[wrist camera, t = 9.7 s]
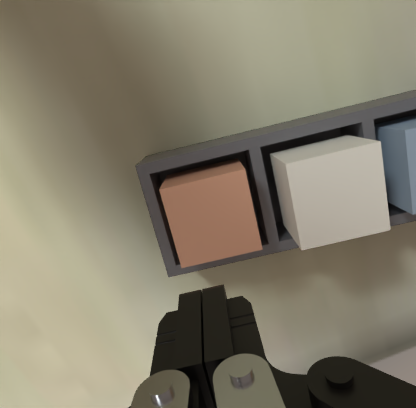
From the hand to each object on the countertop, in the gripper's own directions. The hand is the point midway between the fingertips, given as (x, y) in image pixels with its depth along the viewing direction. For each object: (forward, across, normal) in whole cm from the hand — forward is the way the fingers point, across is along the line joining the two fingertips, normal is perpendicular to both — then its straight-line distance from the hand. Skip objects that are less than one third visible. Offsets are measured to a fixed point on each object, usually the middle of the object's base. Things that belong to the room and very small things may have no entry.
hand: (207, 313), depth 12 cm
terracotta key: (+14, -1, 0) cm, 14 cm away
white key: (+12, -8, 0) cm, 14 cm away
